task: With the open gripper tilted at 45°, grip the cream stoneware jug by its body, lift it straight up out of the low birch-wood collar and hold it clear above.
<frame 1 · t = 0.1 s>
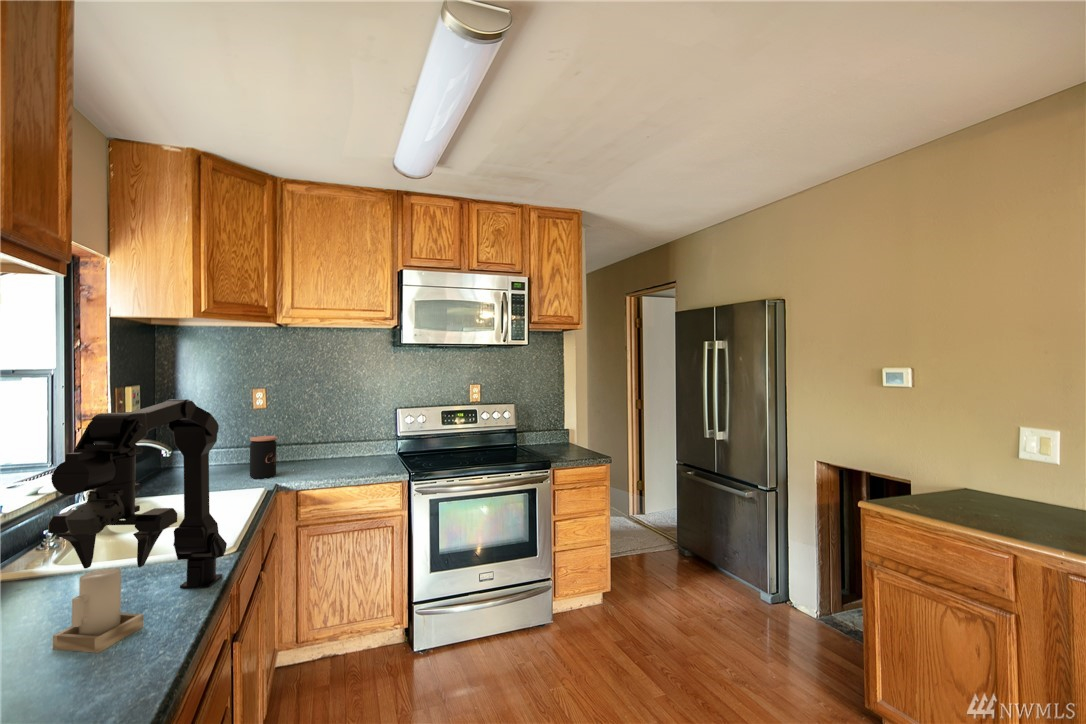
hand: (114, 567, 95), 15 cm above the worktop, tool pointing down, fingers open, 9 cm apart
holder: (99, 637, 98), on the worktop
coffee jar: (263, 477, 236), on the worktop
jug: (95, 608, 97), in the holder
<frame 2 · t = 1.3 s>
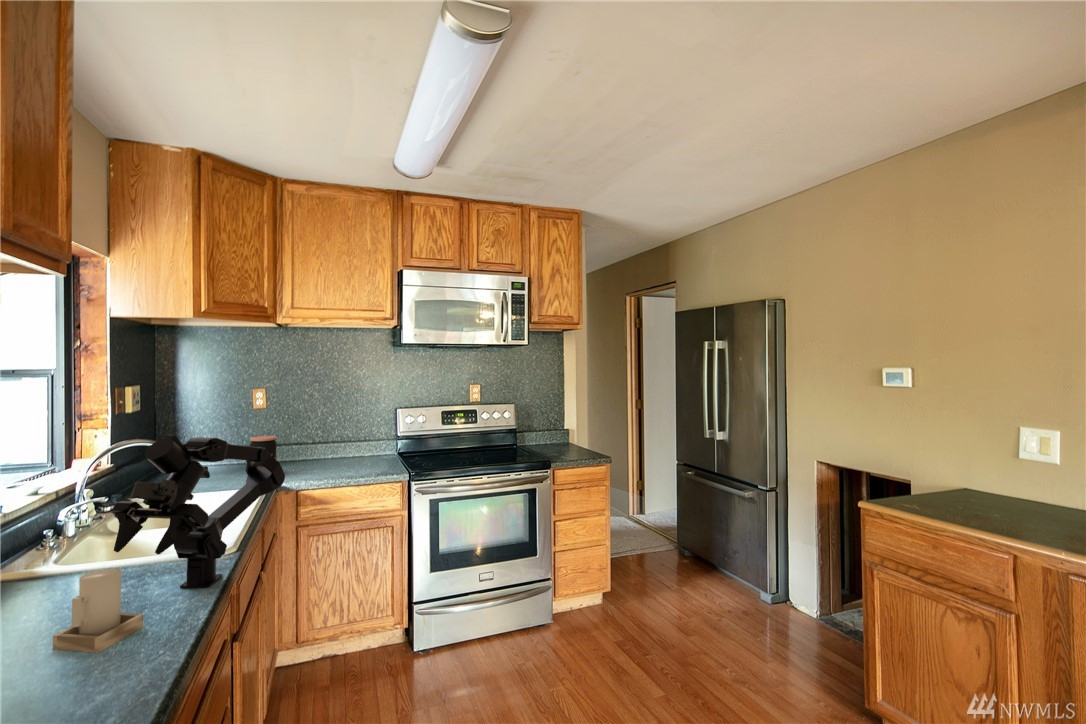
hand: (136, 552, 106), 13 cm above the worktop, tool tilted 45°, fingers open, 9 cm apart
nothing on the worktop moved.
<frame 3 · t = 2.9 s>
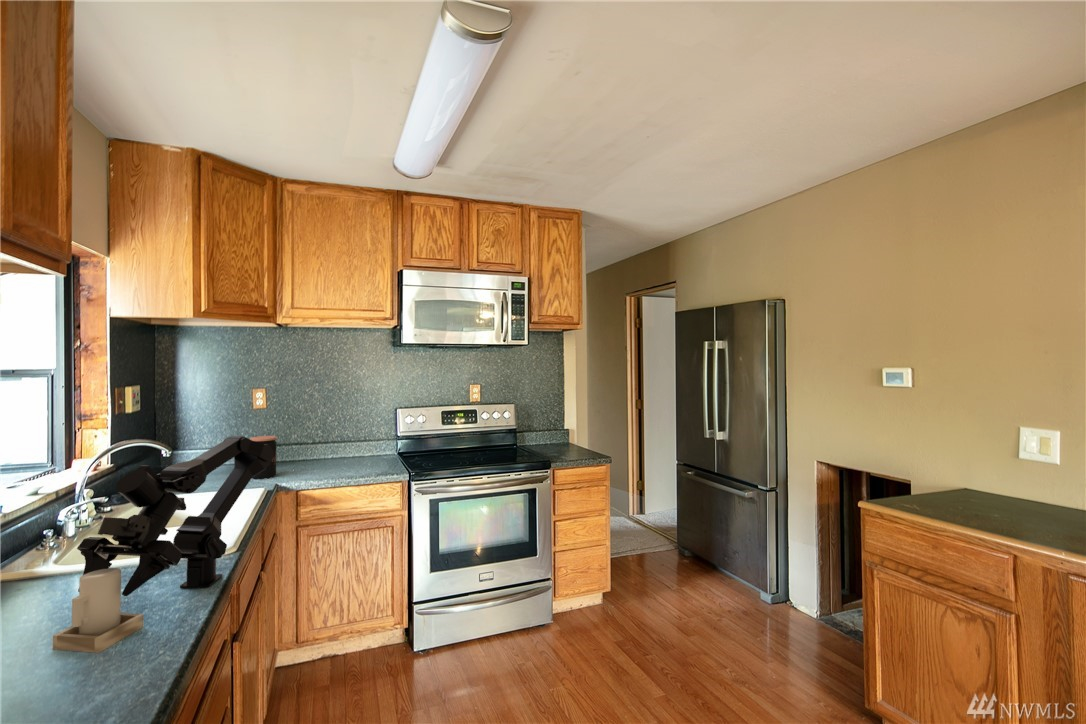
hand: (102, 594, 98), 8 cm above the worktop, tool tilted 45°, fingers open, 9 cm apart
nothing on the worktop moved.
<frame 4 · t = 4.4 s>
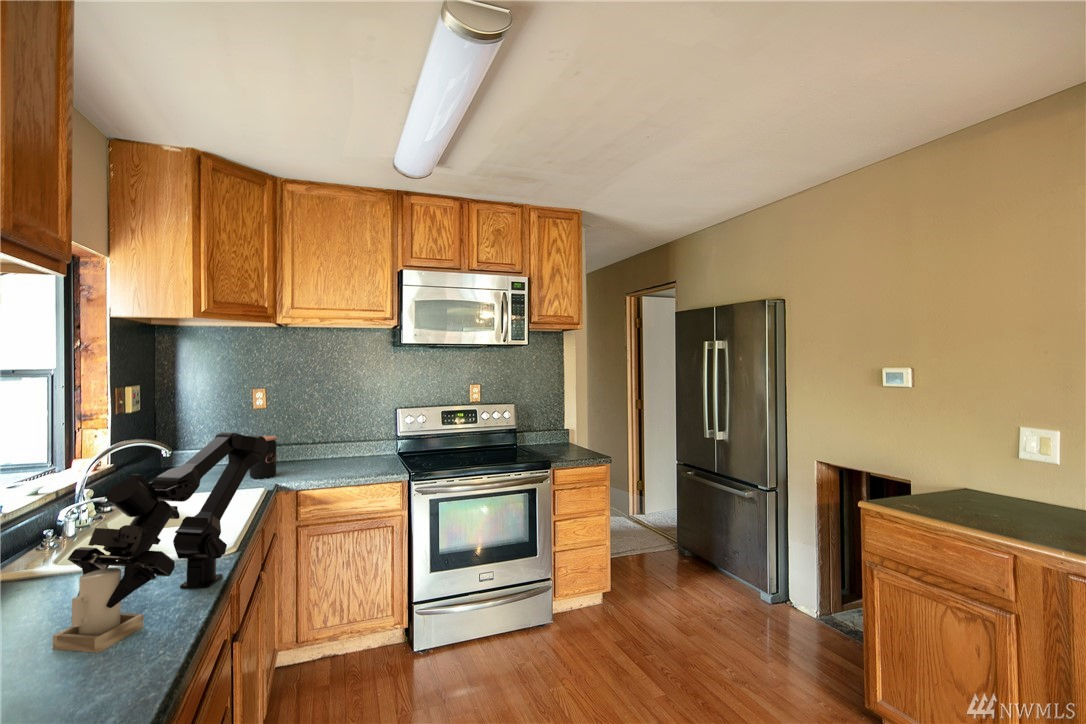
hand: (93, 606, 97), 7 cm above the worktop, tool tilted 45°, fingers closed on jug, 6 cm apart
jug: (95, 608, 97), in the holder, touching gripper
everything else where it was.
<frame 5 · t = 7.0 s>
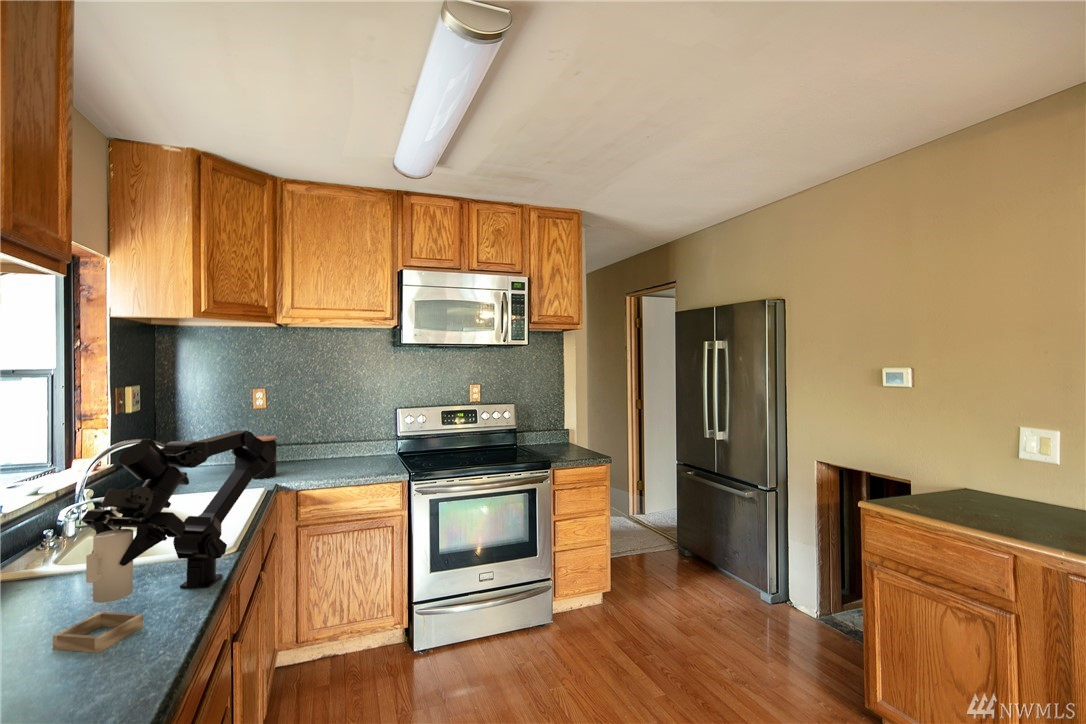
hand: (106, 564, 99), 13 cm above the worktop, tool tilted 45°, fingers closed on jug, 6 cm apart
jug: (109, 566, 100), point 13 cm above the worktop, touching gripper
everything else where it was.
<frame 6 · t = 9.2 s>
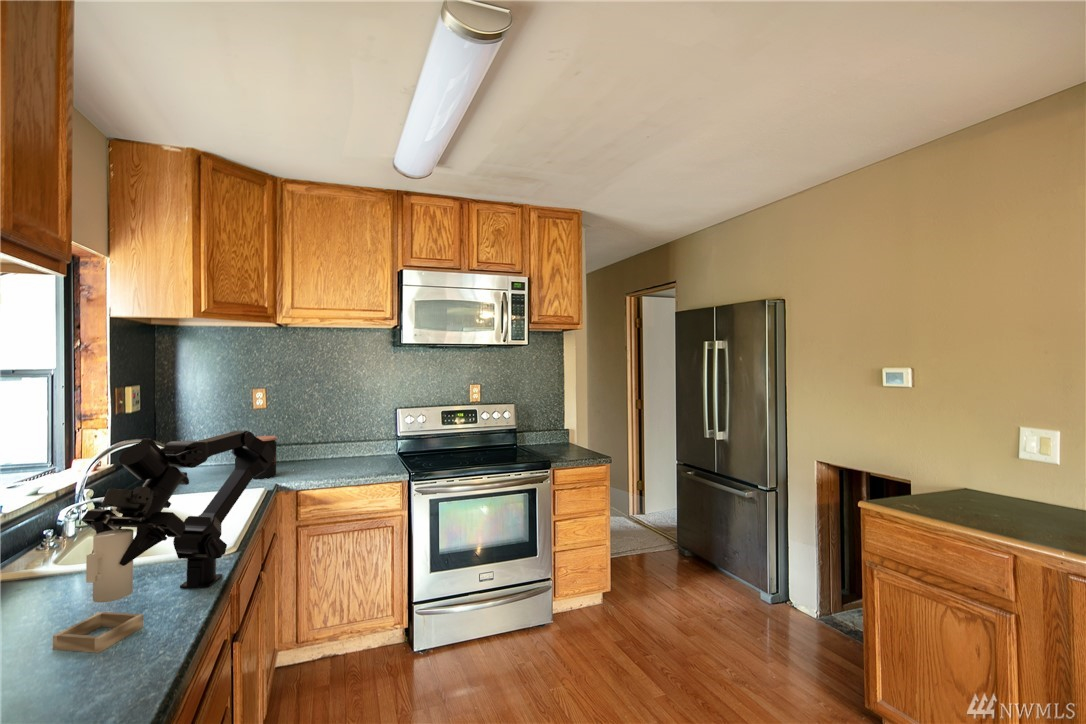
hand: (106, 564, 99), 13 cm above the worktop, tool tilted 45°, fingers closed on jug, 6 cm apart
jug: (109, 566, 100), point 13 cm above the worktop, touching gripper
everything else where it was.
at the end: the gripper is holding jug; jug point 12.9 cm above the worktop; jug touching gripper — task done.
